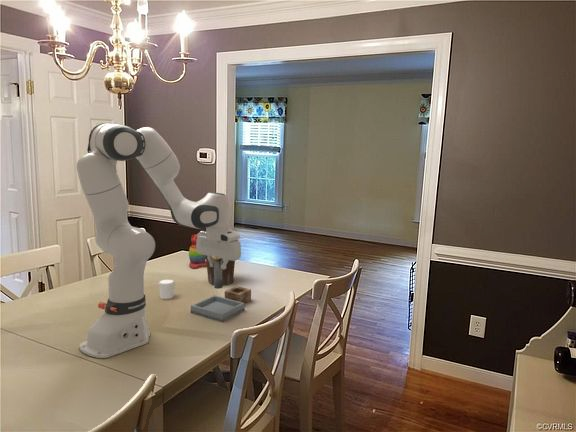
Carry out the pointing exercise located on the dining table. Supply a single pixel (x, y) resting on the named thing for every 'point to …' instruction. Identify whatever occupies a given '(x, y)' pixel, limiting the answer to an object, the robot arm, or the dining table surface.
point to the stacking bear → (196, 255)
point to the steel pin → (217, 272)
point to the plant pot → (226, 273)
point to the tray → (217, 308)
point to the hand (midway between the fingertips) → (218, 267)
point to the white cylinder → (166, 288)
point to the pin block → (238, 294)
